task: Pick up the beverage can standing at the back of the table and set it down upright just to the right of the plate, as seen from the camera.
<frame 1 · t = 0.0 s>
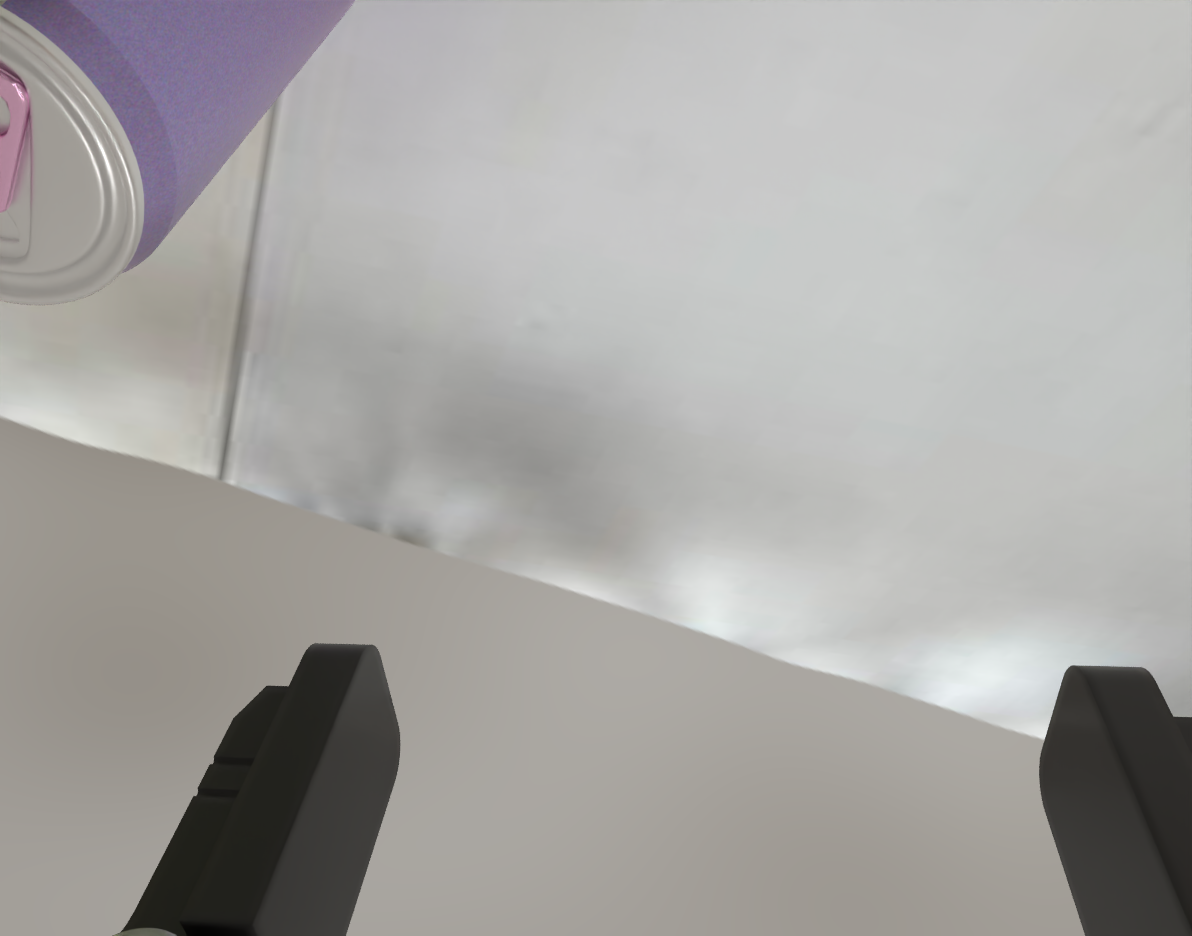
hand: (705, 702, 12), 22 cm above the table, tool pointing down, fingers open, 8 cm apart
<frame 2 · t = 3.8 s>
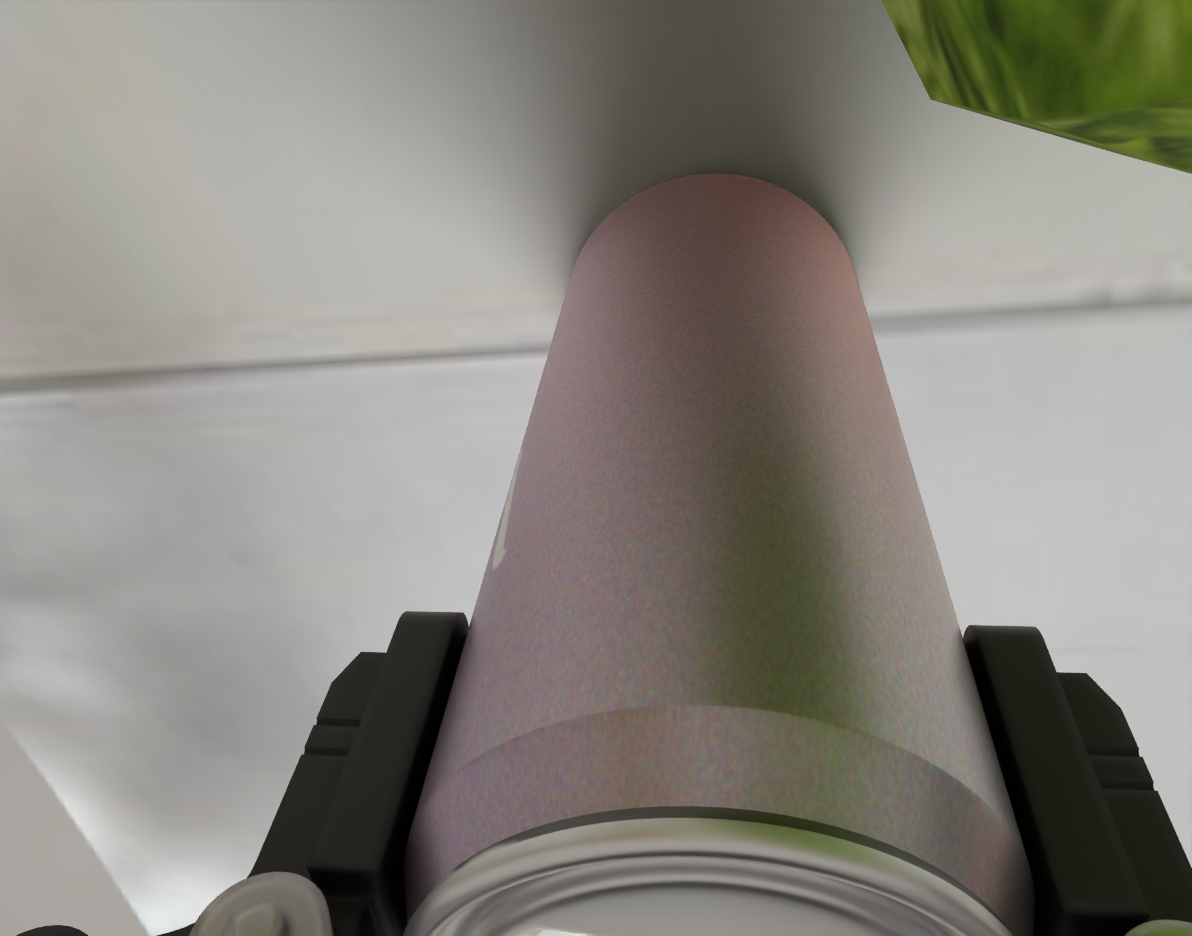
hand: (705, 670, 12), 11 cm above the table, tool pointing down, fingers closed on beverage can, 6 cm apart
beverage can: (710, 297, 21), on the table, touching gripper
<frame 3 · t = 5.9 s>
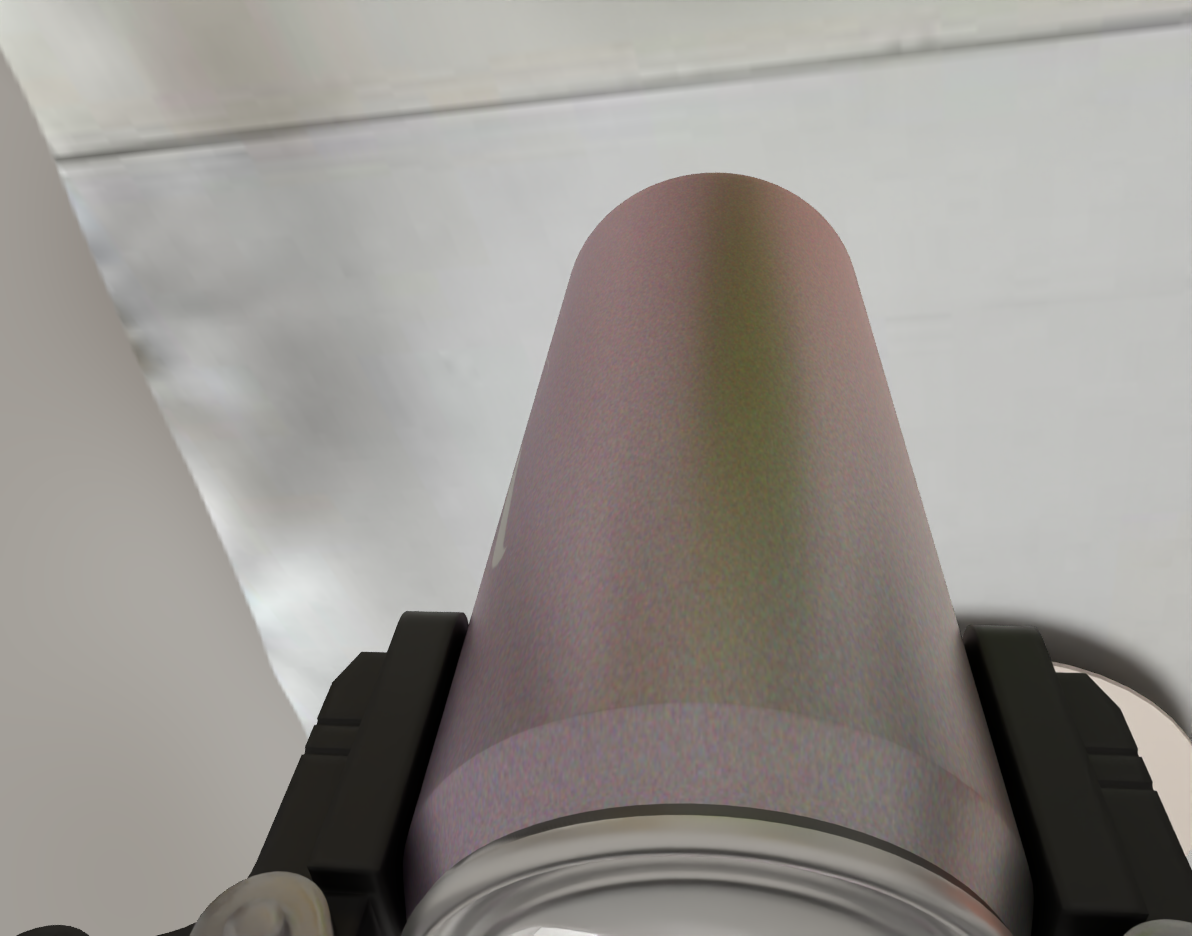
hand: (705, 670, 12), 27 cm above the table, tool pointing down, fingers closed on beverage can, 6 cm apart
plate: (936, 793, 54), on the table
beverage can: (709, 297, 21), point 16 cm above the table, touching gripper
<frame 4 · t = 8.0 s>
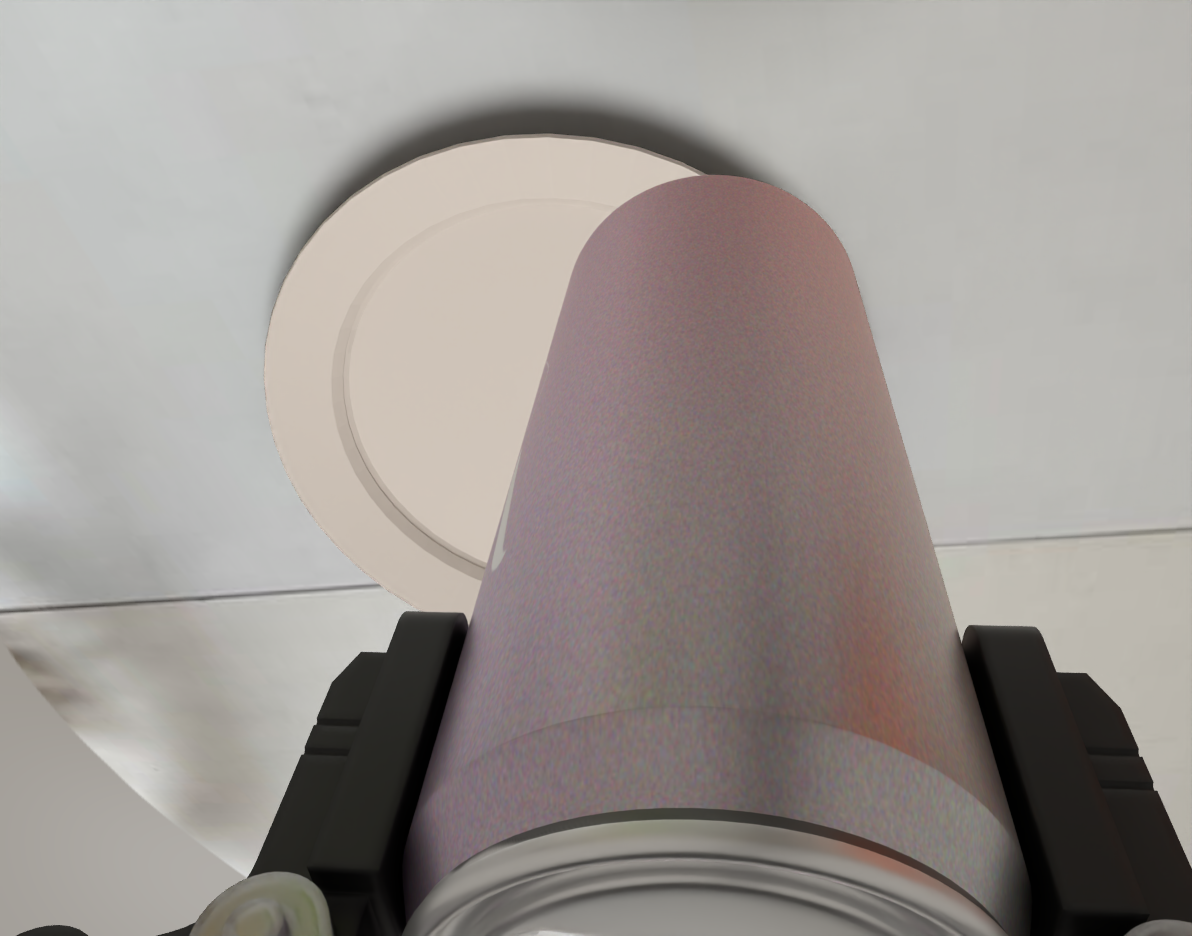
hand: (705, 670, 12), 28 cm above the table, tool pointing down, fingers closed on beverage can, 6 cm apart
plate: (565, 413, 43), on the table
beverage can: (709, 299, 21), point 17 cm above the table, touching gripper
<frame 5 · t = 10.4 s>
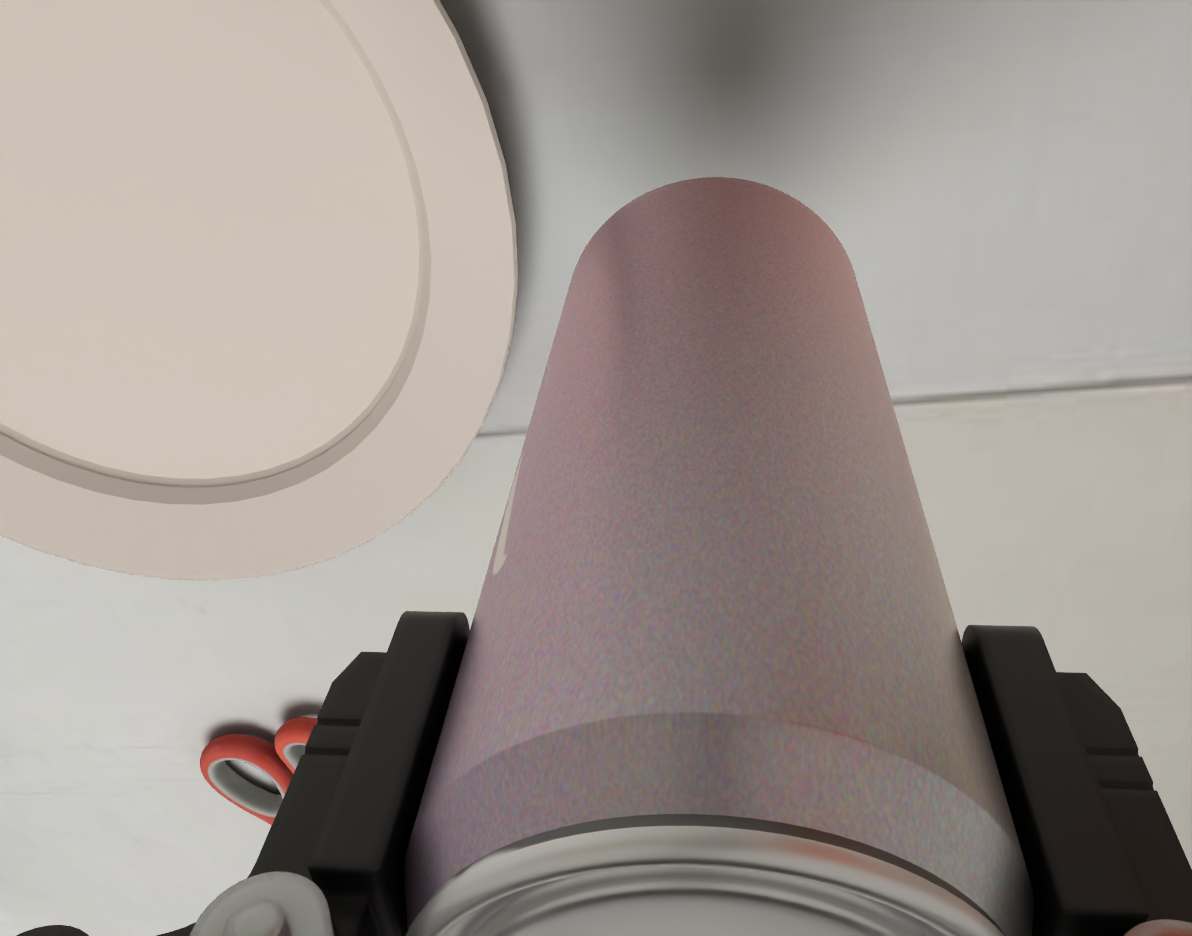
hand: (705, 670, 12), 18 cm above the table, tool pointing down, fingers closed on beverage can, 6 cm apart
plate: (102, 206, 29), on the table
beverage can: (710, 301, 21), point 7 cm above the table, touching gripper
scissors: (354, 855, 47), on the table
when the fingers open (11 cm above the table, at t = 12.4 s): beverage can stays where it is, on the table.
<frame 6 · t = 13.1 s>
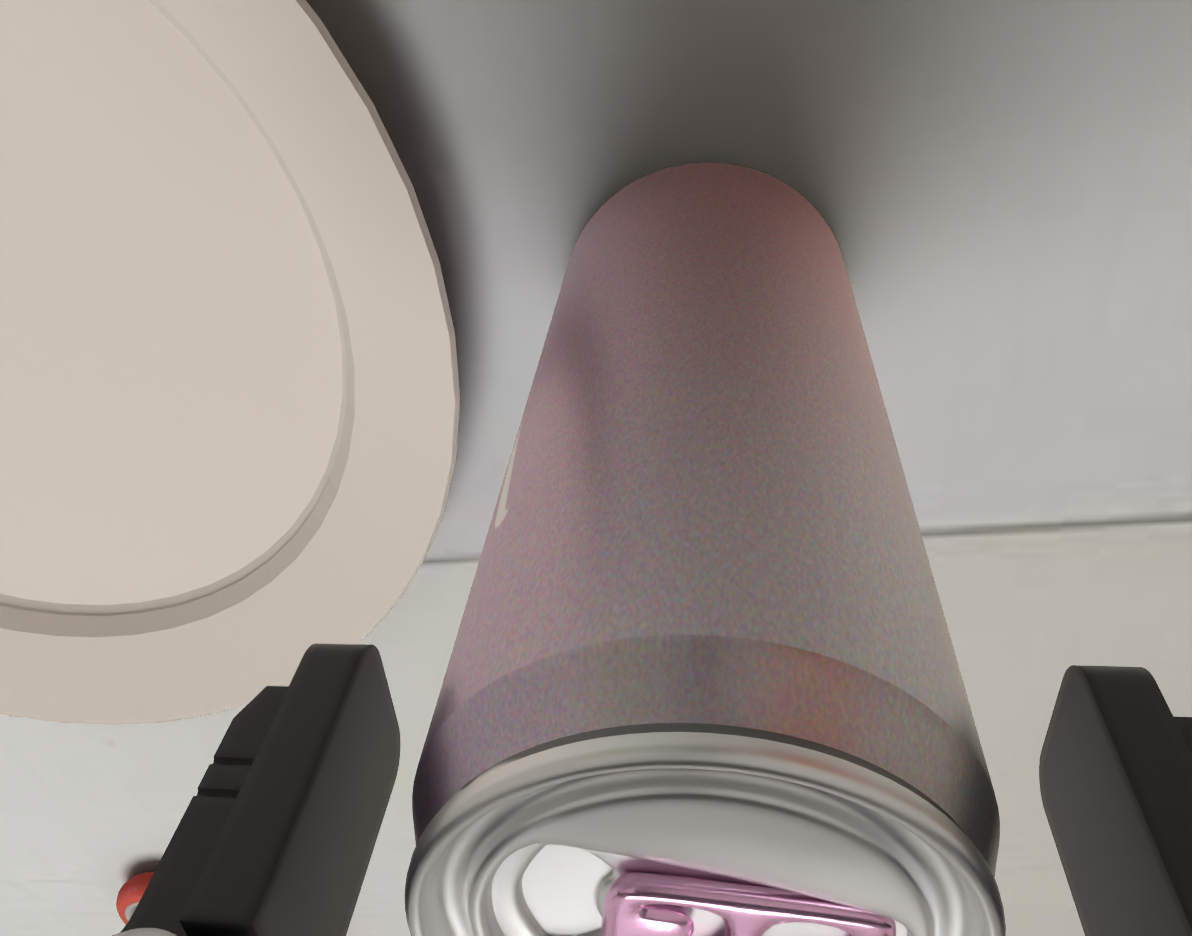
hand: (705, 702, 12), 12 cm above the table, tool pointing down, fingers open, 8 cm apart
beverage can: (703, 284, 22), on the table
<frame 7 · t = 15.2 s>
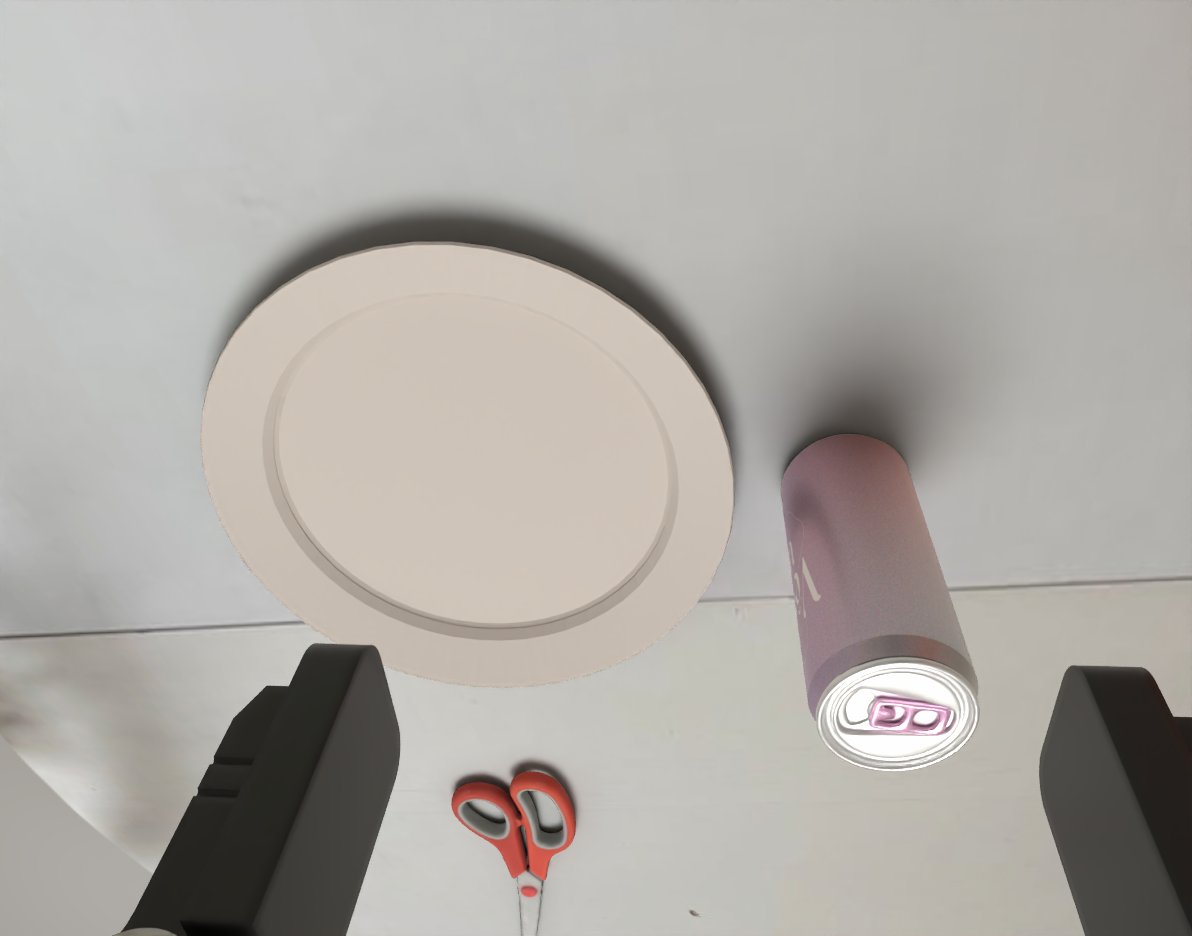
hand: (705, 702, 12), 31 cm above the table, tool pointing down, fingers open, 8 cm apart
plate: (473, 473, 49), on the table
beverage can: (842, 477, 47), on the table
scissors: (540, 866, 66), on the table
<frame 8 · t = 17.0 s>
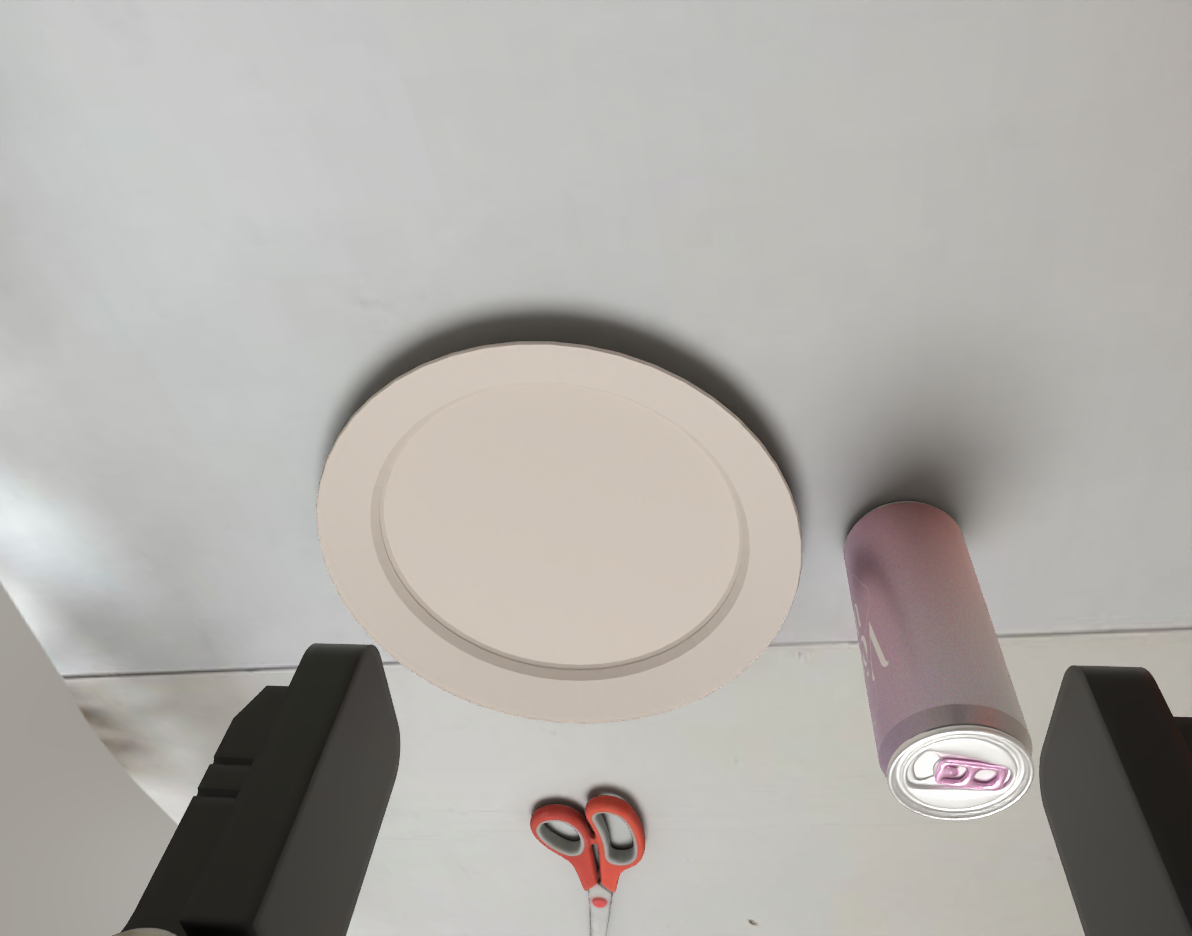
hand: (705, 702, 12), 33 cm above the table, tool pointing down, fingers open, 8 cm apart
plate: (560, 534, 53), on the table
beverage can: (900, 538, 51), on the table
scissors: (610, 879, 71), on the table
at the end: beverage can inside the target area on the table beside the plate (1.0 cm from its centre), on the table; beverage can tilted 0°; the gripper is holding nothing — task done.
